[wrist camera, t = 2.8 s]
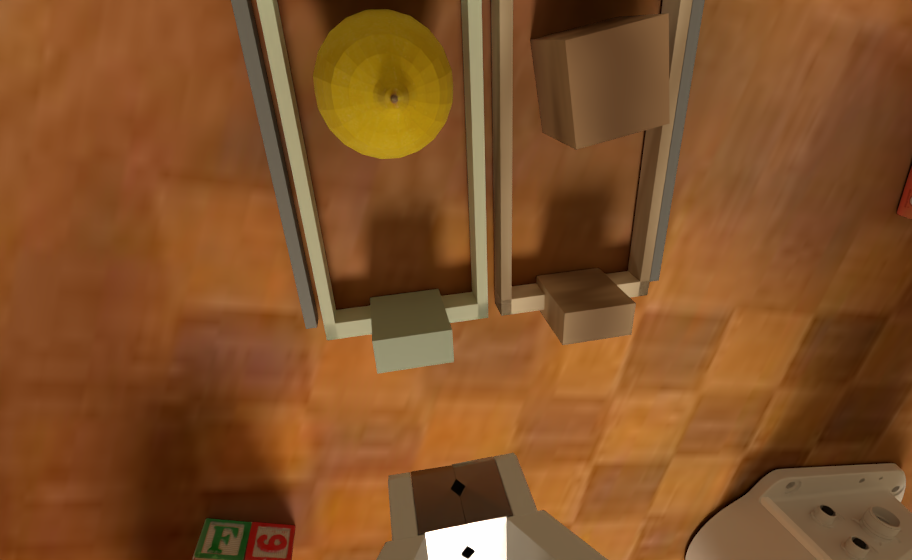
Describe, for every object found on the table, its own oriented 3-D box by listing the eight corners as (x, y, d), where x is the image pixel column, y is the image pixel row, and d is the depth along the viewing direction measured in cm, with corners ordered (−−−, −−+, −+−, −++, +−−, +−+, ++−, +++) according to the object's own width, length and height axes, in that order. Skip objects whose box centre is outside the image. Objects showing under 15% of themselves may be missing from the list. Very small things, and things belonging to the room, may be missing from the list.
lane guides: (705, -86, 22) (719, -91, 21) (650, 273, 31) (658, 280, 30) (219, -75, 19) (212, -80, 18) (307, 319, 28) (306, 328, 27)
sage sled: (472, -37, 21) (499, -54, 17) (482, 311, 30) (502, 354, 26) (256, -29, 20) (232, -45, 16) (329, 333, 28) (325, 381, 24)
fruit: (311, 15, 21) (289, 4, 14) (435, 11, 22) (472, 0, 15) (329, 142, 24) (318, 188, 17) (440, 135, 25) (474, 175, 18)
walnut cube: (616, 16, 24) (668, 13, 20) (621, 110, 26) (669, 123, 22) (529, 40, 23) (565, 40, 19) (542, 132, 26) (576, 149, 22)
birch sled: (680, -44, 23) (748, -61, 19) (633, 290, 31) (674, 327, 27) (490, -38, 21) (521, -54, 17) (494, 309, 30) (516, 352, 26)
